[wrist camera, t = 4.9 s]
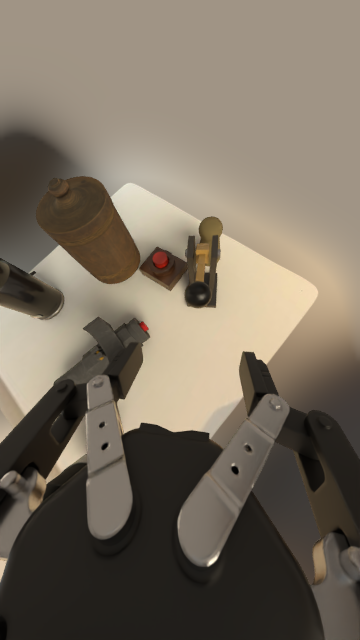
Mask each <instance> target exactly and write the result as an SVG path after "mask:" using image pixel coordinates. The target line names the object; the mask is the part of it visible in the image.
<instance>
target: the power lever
mask: <svg viewBox="0 0 360 640" xmlns="http://www.w3.org/2000/svg"><path fill="white" fill-rule="evenodd" d="M209 245H210V244H209V243H201V244H197V247H196V263H198V265H197V272H196V279H195V282H192V283H191V284H189V285H188V286H187V288H186V290H185V300H186V302H187V303H188V304H189V305H190V306H191V307H193V308H202V307H205V306H206V305H207V304H208V303H209V302H210V300H211V297H212V292H211V289H210V287H209V286H208V285H207V284H206V283H204V271H205V264H208V262H209Z"/></svg>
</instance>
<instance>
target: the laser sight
mask: <svg viewBox="0 0 360 640" xmlns="http://www.w3.org/2000/svg"><path fill="white" fill-rule="evenodd" d="M83 329H84V330H85V331H87V332H88V333H90V334H91V335H92V336H93V337H94V338H95V339H96V340H97V342H98V343H99V344H97V345H96V346H95V347H94V348H92V349H91V350H90V351H89V352H87V353H86V354H85V355H83V358H82V360H81V361H80V362H79V363H77V364H76V365H75V366H74V367H73V368H71V369H70V370H69V371H67V372H66V373H65V374H64V375H62V376H61V377H60V378H59V379H57V380H56V381H55V382H54V385H55V384H56V383H58V382H60V381H62V380H66V379H71V380H73V381H74V383H75V385H76V384H82V383H88V382H89V380H90V379H92V378H93V377H95V376H97V375H101V374H102V373H103V372H104V370H105V369H106V368H107V366H108V365H109V363H110V362H111V361H112V359H113V358H114V357H115V355H116V354H117V353H118V351H120V350H121V349H123V348H127V346H128V345H129V343H130V342H138V343H141V347H142V346H143V344H142V343H143V342H144V341H146V340H148V339H149V338H150V336H149V334H148V332H147V330H148V327H147V326H146V325H145V323H144V322H141V323H139V322H138V321H137V320H136V319H135V318H134V319H132V320H131V321H130V322H129V323H128V324H127V325H126V324H125V323H124V324H123V325H122V326H120V327H119V328H118V329H116V330H115V331H114V330H113V329H112V327H111V326H110V324H108V323H107V322H105V321H104V320H102V319H101V318H100V317H97V318H96V319H94V320H93V321H92V322H90V323H89V324H88V325H87V326H85V327H84V328H83Z"/></svg>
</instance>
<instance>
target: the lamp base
mask: <svg viewBox="0 0 360 640" xmlns="http://www.w3.org/2000/svg"><path fill="white" fill-rule="evenodd" d="M157 252H164V253H166V255H167V258H168V264H167V266H166V267H164V268H158V267H156V266H155V264H154V262H153V256H154V254H155V253H157ZM139 269H140V271H141V272H142V274H143V275H145V276H147V277H148V278H150V279H152V280H153V281H155V282H157V283H158V284H160V285H162V286H163V287H165V288H167V289H168V290H170V291H171V290H172V289H173V287H174V286H175V285H176V283H177V282H178V281H179V279H180V278H181V277H182V275H183V274H184V273H185V271H186V270H187V269H188V267H187V262H185V261H183V260H181V259H179V258H178V257H176V256H174V255H172V254H171V253H170V252H168V251H166V250H163V249H161V248H159V247H156V248H155V250H154V251H153V252H152V253H151V255H150V256H149V257H148V258H147V259H146V261H145V262H144V263H143V264H142V266H141V267H140V268H139Z"/></svg>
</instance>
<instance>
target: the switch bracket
mask: <svg viewBox="0 0 360 640" xmlns="http://www.w3.org/2000/svg"><path fill="white" fill-rule="evenodd" d="M220 251H221V250H220V249H218V235H213V236H212V248H211V261H210V273H204V283H206V284H207V285H208V286H209V287H210V289H211V292H212V297H211V300H210V302H209V303H208V304H207V305H206V306H205V307H214V308H216V293H217V273H216V266H217V259H218V258H220ZM185 257H186V258H187V263H188V271H189V284H191V283H192V282H195V279H196V272H197V271H196V253H195V236H189V239H188V249H186V250H185ZM187 306H190V305H189V304H188V303H187Z"/></svg>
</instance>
